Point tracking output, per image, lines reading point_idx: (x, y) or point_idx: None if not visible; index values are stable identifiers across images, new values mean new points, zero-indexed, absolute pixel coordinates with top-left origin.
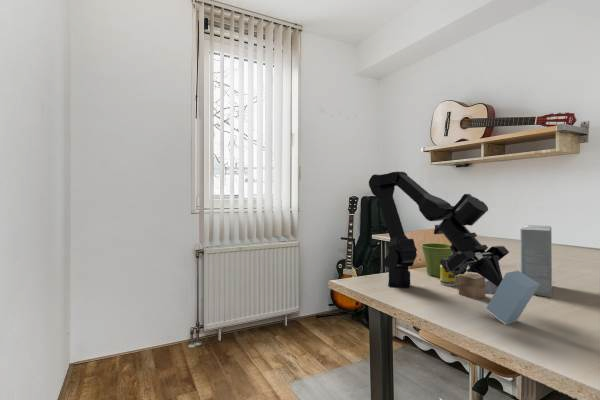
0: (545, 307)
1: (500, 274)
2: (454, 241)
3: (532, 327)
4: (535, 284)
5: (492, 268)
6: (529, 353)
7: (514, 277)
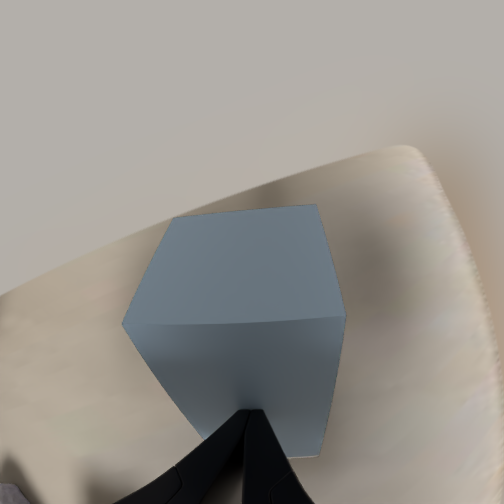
0: (39, 374)
1: (210, 452)
2: None
3: None
4: (213, 216)
5: (301, 497)
6: (425, 229)
7: (316, 264)
